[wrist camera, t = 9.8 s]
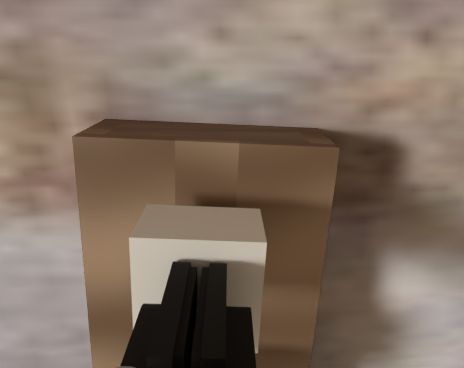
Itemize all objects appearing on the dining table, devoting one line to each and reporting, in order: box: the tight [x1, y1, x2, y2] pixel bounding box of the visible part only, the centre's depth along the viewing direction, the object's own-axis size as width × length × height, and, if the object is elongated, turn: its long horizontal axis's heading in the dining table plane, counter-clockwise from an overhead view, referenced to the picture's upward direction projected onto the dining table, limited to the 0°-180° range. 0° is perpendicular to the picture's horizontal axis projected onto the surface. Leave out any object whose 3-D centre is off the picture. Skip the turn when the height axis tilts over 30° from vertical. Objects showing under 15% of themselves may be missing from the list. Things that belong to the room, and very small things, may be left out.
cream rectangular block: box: [129, 204, 267, 353], centre depth 15 cm, size 4×4×7 cm
